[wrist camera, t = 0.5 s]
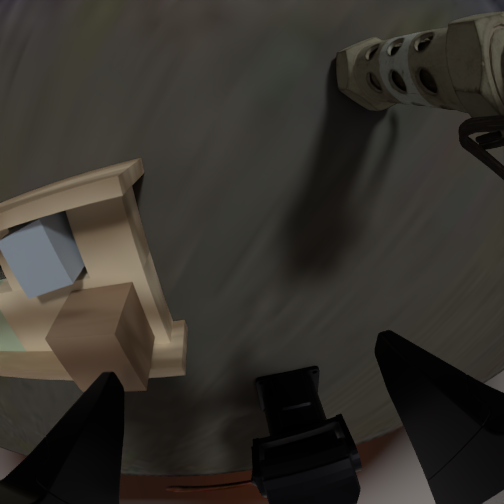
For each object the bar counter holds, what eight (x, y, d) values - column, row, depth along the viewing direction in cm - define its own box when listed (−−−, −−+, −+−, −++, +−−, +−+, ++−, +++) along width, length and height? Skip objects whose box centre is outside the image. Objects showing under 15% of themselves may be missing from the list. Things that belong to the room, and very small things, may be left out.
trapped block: (95, 249, 19) (73, 283, 16) (53, 266, 19) (28, 298, 16) (70, 195, 17) (39, 218, 13) (28, 216, 17) (-4, 242, 13)
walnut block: (155, 337, 20) (146, 390, 16) (98, 342, 20) (82, 391, 16) (132, 281, 18) (114, 334, 14) (71, 291, 18) (44, 338, 13)
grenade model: (336, 135, 18) (540, 222, 5) (332, 36, 15) (532, -22, 1) (412, 138, 18) (590, 216, 5) (410, 51, 15) (595, 57, 2)
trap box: (187, 328, 24) (185, 374, 19) (5, 342, 22) (-12, 374, 18) (141, 157, 17) (118, 176, 13) (-52, 227, 16) (-82, 251, 11)
